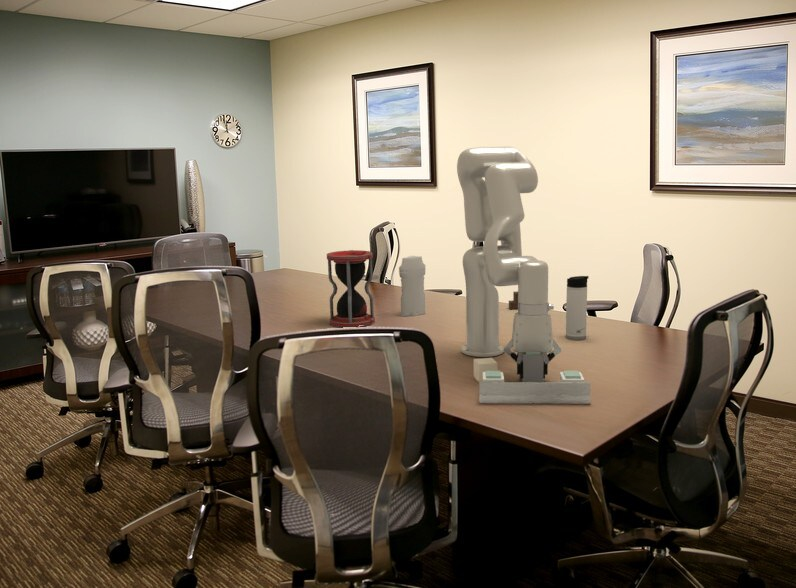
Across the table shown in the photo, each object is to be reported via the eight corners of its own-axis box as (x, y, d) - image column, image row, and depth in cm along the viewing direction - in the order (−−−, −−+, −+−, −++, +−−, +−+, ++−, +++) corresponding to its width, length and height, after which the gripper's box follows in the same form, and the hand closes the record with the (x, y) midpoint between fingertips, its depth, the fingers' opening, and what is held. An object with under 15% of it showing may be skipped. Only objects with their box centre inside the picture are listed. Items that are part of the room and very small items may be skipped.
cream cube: (473, 377, 195) (473, 359, 194) (491, 375, 196) (491, 357, 195) (478, 382, 190) (478, 364, 189) (497, 381, 191) (497, 362, 190)
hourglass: (373, 327, 251) (371, 255, 246) (327, 328, 252) (323, 257, 247) (376, 317, 267) (373, 249, 262) (332, 318, 267) (329, 250, 262)
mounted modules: (482, 391, 183) (482, 369, 182) (579, 391, 181) (580, 369, 180) (483, 399, 177) (483, 377, 176) (583, 399, 175) (584, 377, 174)
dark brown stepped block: (532, 304, 284) (532, 287, 283) (541, 313, 269) (541, 294, 268) (494, 305, 284) (494, 288, 282) (501, 314, 269) (501, 296, 268)
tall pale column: (402, 317, 265) (401, 257, 261) (398, 315, 269) (396, 256, 265) (428, 314, 269) (427, 255, 265) (423, 312, 273) (422, 253, 269)
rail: (479, 400, 176) (479, 380, 175) (588, 400, 174) (589, 380, 173) (479, 403, 174) (479, 383, 173) (590, 403, 172) (590, 383, 171)
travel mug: (583, 341, 227) (584, 278, 223) (562, 338, 230) (564, 276, 226) (589, 336, 232) (591, 274, 228) (569, 334, 235) (571, 273, 232)
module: (521, 377, 193) (521, 346, 192) (540, 377, 193) (540, 346, 191) (523, 385, 187) (523, 353, 185) (543, 385, 186) (543, 353, 184)
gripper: (564, 305, 189) (563, 372, 192) (498, 306, 190) (498, 372, 194) (568, 312, 182) (567, 381, 185) (499, 312, 183) (499, 381, 187)
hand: (532, 376), depth 189 cm, fingers closed on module, 5 cm apart
